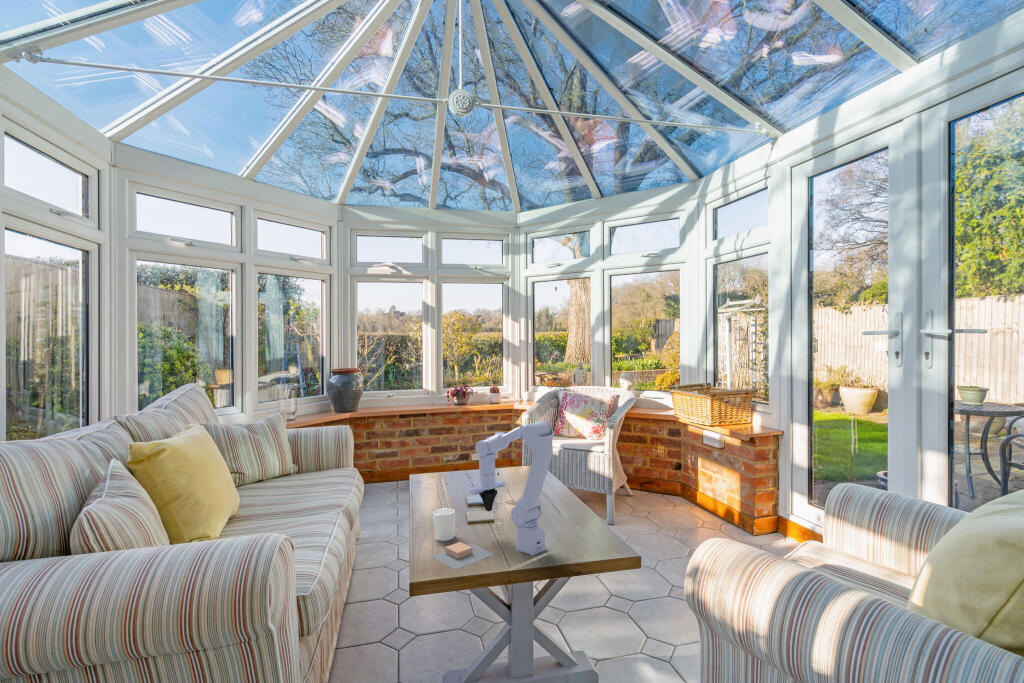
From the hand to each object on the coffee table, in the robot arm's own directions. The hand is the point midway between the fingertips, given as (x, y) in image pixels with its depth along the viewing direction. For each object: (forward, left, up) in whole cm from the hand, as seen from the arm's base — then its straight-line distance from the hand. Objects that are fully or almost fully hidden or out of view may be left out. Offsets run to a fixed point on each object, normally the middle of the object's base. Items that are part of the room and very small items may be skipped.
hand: (488, 510), depth 178 cm
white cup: (+11, +12, -10) cm, 19 cm away
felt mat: (-7, +17, -10) cm, 21 cm away
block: (-5, +14, -8) cm, 17 cm away
